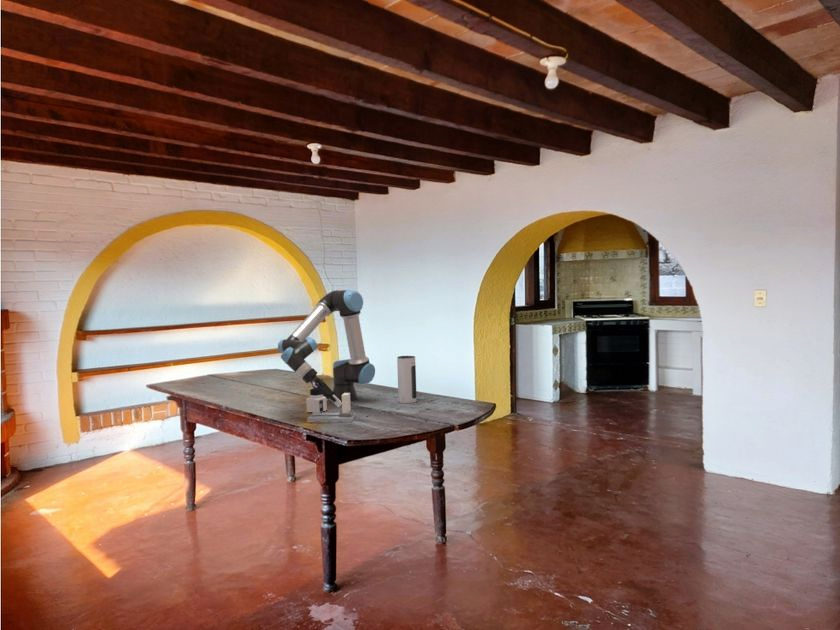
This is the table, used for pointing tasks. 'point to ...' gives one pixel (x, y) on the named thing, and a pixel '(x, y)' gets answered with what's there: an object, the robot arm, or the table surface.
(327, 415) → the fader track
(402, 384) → the speaker
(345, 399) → the fader
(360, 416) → the table surface
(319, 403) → the container
